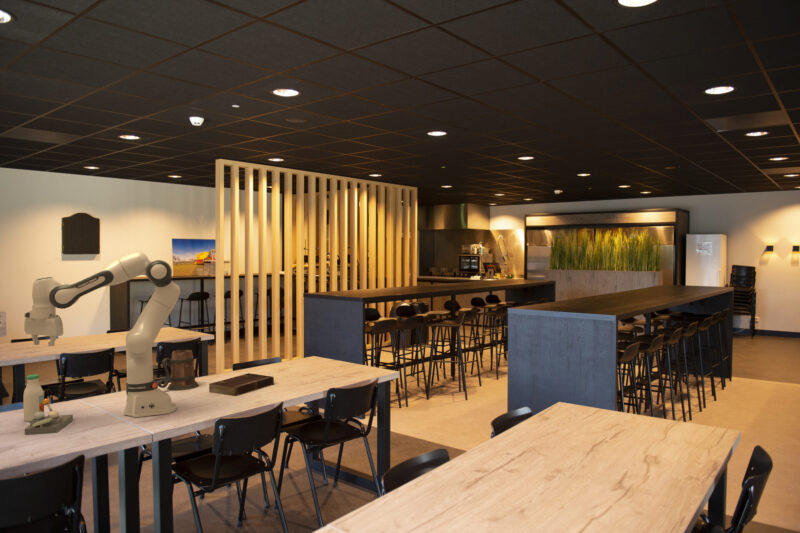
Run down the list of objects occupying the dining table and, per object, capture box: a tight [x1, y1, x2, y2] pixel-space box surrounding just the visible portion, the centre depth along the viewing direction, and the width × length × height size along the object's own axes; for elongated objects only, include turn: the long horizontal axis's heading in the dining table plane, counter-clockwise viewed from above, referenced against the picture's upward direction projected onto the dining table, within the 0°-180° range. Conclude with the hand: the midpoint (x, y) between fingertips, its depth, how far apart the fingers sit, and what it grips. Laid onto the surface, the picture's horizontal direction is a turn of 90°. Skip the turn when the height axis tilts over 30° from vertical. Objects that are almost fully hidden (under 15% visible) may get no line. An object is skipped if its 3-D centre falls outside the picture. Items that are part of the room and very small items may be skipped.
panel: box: [24, 412, 74, 436], centre depth 242 cm, size 12×18×4 cm, turn 11°
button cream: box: [48, 410, 59, 418], centre depth 240 cm, size 3×3×2 cm
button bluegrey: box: [35, 411, 45, 420], centre depth 239 cm, size 3×3×2 cm
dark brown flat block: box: [208, 372, 275, 397], centre depth 307 cm, size 29×19×5 cm, turn 150°
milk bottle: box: [22, 373, 45, 422], centre depth 255 cm, size 8×8×20 cm
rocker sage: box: [32, 418, 52, 427], centre depth 235 cm, size 6×3×1 cm, turn 101°
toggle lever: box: [43, 398, 54, 412], centre depth 246 cm, size 3×3×7 cm
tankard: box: [157, 349, 200, 392], centre depth 310 cm, size 24×17×20 cm
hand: (43, 345), depth 250 cm, fingers open, 8 cm apart
